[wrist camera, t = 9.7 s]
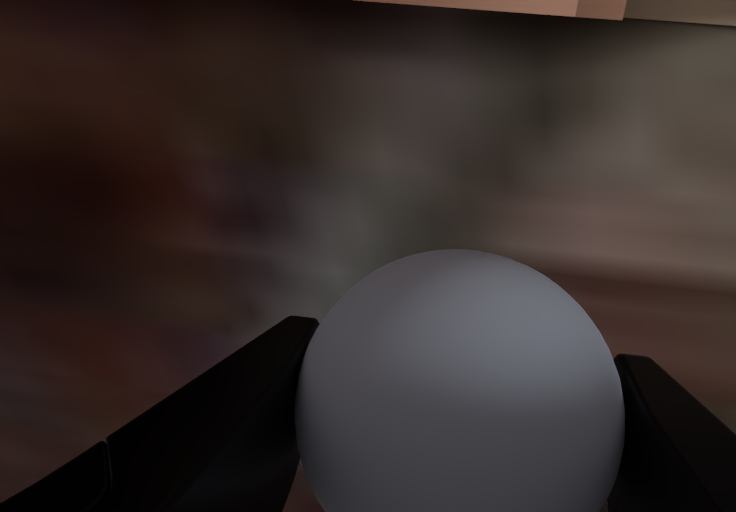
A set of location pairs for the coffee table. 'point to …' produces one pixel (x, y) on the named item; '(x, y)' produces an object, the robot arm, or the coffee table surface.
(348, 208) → the coffee table surface
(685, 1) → the box
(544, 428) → the grey ball
